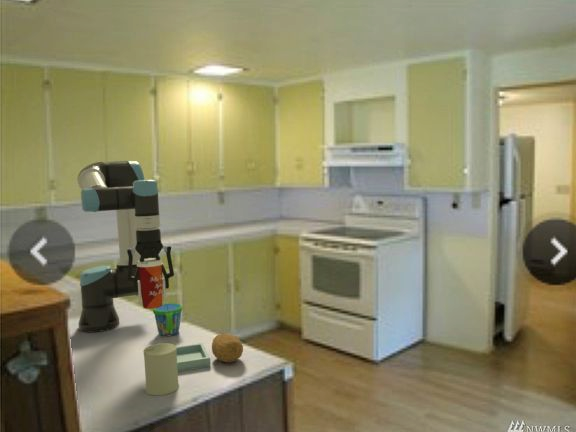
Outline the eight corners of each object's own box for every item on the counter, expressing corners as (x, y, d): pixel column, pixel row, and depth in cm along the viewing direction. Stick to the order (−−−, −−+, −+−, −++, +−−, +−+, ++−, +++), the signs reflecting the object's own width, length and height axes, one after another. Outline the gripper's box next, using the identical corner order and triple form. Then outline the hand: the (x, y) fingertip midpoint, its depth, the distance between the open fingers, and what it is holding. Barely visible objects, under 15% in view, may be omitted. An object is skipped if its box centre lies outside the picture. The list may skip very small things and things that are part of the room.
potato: (233, 350, 172) (232, 327, 171) (250, 364, 160) (249, 339, 159) (205, 356, 167) (204, 332, 166) (221, 371, 155) (219, 345, 154)
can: (148, 382, 149) (146, 342, 147) (180, 380, 150) (178, 340, 148) (142, 396, 140) (140, 354, 138) (176, 394, 140) (174, 352, 139)
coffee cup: (158, 310, 158) (155, 262, 157) (134, 309, 160) (131, 262, 159) (170, 303, 166) (167, 257, 165) (147, 302, 168) (144, 257, 167)
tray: (163, 356, 168) (163, 348, 167) (203, 350, 172) (202, 342, 172) (167, 373, 155) (167, 364, 154) (210, 366, 159) (210, 357, 158)
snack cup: (183, 339, 184) (181, 311, 183) (153, 341, 182) (151, 314, 181) (183, 325, 199) (182, 300, 198) (155, 328, 197) (154, 302, 196)
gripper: (114, 232, 155) (119, 306, 157) (181, 227, 160) (185, 299, 162) (115, 229, 162) (120, 300, 164) (178, 225, 167) (182, 294, 170)
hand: (152, 299), depth 163 cm, fingers closed on coffee cup, 7 cm apart
